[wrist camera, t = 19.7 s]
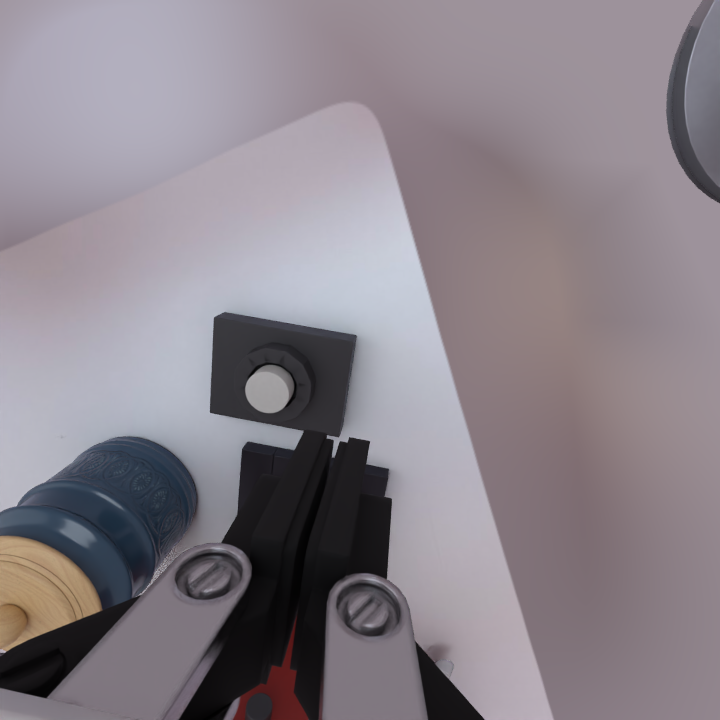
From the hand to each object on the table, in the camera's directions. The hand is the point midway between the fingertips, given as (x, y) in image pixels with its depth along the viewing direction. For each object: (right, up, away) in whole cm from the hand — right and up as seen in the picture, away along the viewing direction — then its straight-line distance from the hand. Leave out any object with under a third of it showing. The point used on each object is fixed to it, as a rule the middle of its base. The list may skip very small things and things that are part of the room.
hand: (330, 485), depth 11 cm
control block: (-6, +2, +29) cm, 29 cm away
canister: (-22, -10, +35) cm, 42 cm away
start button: (-6, +1, +25) cm, 26 cm away
